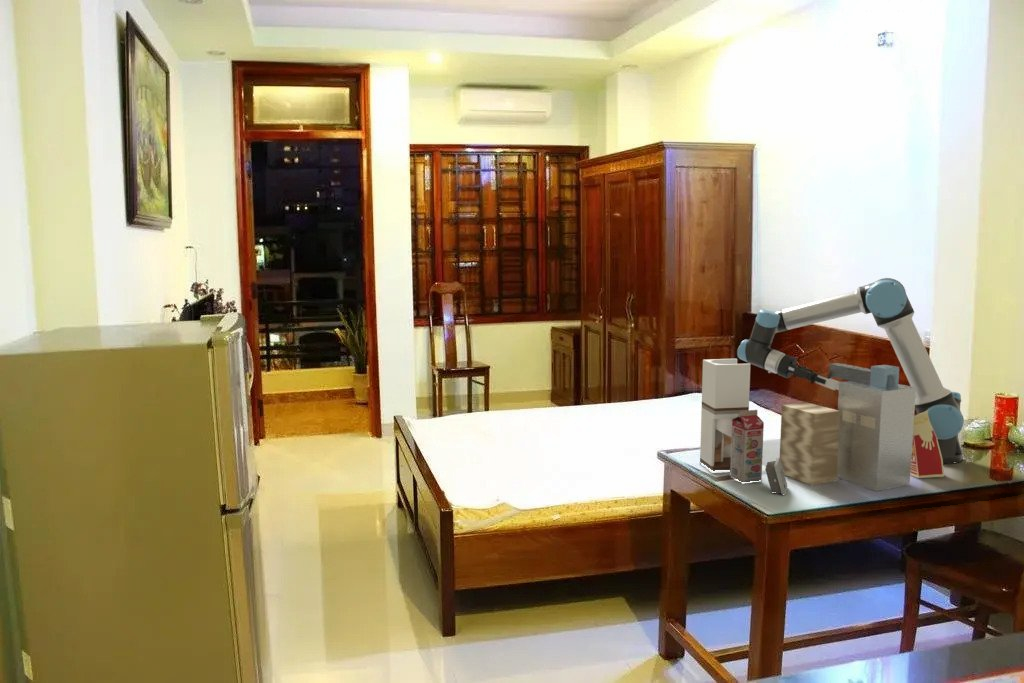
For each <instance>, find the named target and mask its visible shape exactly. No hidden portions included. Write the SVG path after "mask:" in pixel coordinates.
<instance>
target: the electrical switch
mask: <svg viewBox="0 0 1024 683" xmlns="http://www.w3.org/2000/svg"><path fill="white" fill-rule="evenodd" d="M764 469H765V473H766V477H767V480H768V484H769V489H770V492H771V493H772V492H776V493H775V494H781V495H782V494H785V493H787V490H786V489H788V484H787V478H786V475H785V474H784V470H783V467H782V464H781V460H780V457H776V459H775V460H773V461H767V463H766V466H765V468H764ZM785 495H786V494H785Z"/></svg>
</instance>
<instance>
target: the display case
mask: <svg viewBox="0 0 1024 683" xmlns="http://www.w3.org/2000/svg"><path fill="white" fill-rule="evenodd" d="M701 378H702V381H701V384H702V385H701V411H700V412H701V413H700V414H701V416H700V418H701V419H700V445H699V447H700V449H699V450H700V451H699V453H700V454H699V457H700V458H699V463H700V462H701V463H703V464H704V465H706V466H707V467H708V468H710V469H711V470H713V471H715V470H731V442H732V420H733V419H734V418H736V417H738V416H739V411H748V410H750V388H751V364H749V363H738V358H719V359H718V358H716V359H715V358H714V359H713V358H711V359H708V358H707V359H702V377H701Z"/></svg>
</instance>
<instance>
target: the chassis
mask: <svg viewBox="0 0 1024 683" xmlns="http://www.w3.org/2000/svg"><path fill="white" fill-rule="evenodd" d="M915 397H916V387H911V385H906V384H900V383H898V387H893V388H885V389H883V388H878V387H874V386H870V385H868V384H863V383H859V382H854V381H849V380H845V381H839V390H838V398H837V399H838V400H837V410H838V411H840V425H839V444H838V462H837V478H838V479H841V480H844V481H847V482H849V483H853V484H855V485H858V486H861V487H864V488H866V489H869V490H871V491H875V492H879V491H884V490H890V489H895V488H899V487H905V486H910V484H911V457H912V442H913V427H914V416H915V411H916V409H915Z"/></svg>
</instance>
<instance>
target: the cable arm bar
mask: <svg viewBox="0 0 1024 683" xmlns="http://www.w3.org/2000/svg"><path fill="white" fill-rule="evenodd" d="M828 369H829V370H828V377H829V376H830V377H831V378H836V379H842V380H845V381H854V382H859V383H863V384H868V385H870V386H874V387H878V388H883V389H885V388H893V387H898V384H899V380H900V379H899V378H900V367H899V366H895V365H889V364H881V365H880V364H879V365H871V366H870V368H867V367H861V366H855V365H853V364H852V365H851V364H846V363H841V362H836V363H829V368H828Z"/></svg>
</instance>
